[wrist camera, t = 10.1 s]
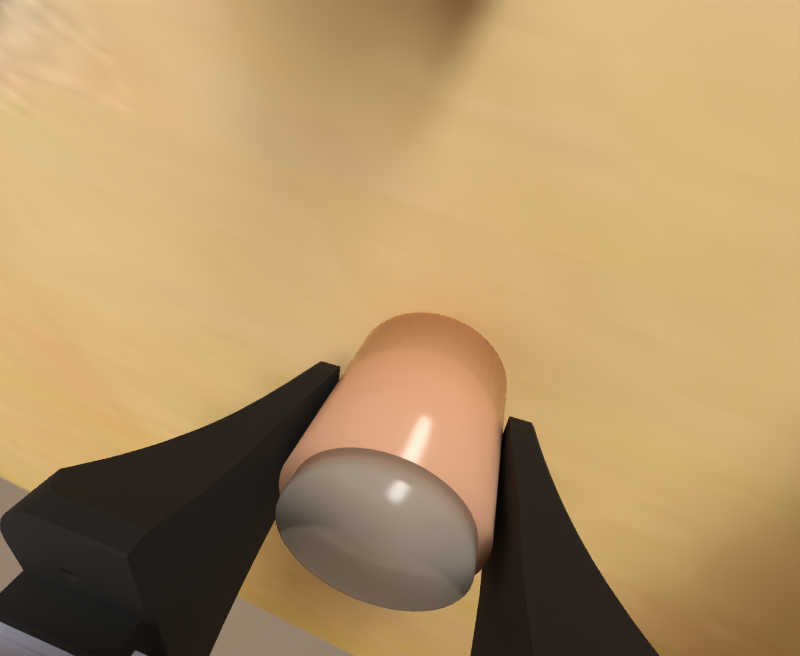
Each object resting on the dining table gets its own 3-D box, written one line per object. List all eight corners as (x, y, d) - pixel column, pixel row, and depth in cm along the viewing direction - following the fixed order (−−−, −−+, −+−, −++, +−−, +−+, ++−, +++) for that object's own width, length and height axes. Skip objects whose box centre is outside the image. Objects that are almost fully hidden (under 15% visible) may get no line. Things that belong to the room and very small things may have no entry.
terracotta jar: (540, 392, 13) (545, 588, 8) (431, 457, 16) (383, 635, 11) (425, 281, 12) (349, 421, 7) (330, 369, 15) (226, 517, 10)
